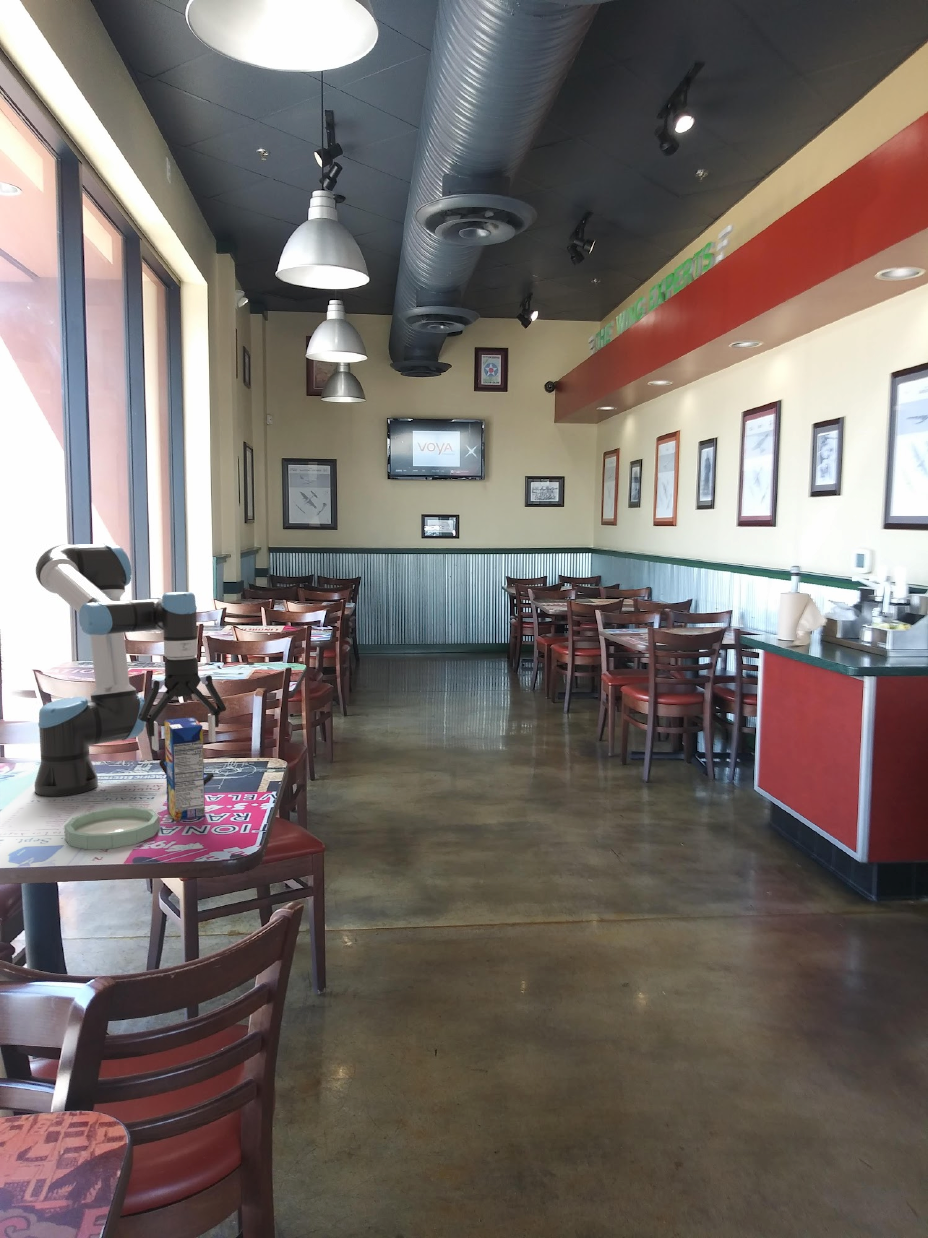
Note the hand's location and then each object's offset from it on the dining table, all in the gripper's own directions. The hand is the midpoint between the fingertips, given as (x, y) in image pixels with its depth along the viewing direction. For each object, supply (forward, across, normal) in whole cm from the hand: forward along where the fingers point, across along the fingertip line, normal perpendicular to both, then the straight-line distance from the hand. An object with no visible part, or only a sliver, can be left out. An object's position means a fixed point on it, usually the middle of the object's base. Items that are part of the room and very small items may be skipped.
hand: (184, 745), depth 203 cm
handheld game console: (+17, +9, +26) cm, 32 cm away
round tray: (+17, -18, -4) cm, 25 cm away
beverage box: (+17, 0, 0) cm, 17 cm away
